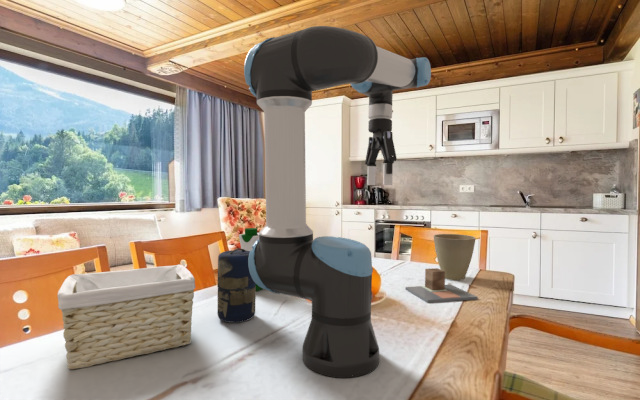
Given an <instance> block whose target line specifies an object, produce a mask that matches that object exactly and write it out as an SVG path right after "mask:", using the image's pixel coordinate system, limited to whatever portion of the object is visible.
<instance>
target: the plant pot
mask: <svg viewBox="0 0 640 400" xmlns="http://www.w3.org/2000/svg"><path fill="white" fill-rule="evenodd" d="M433 243H434V249H435V253H436V259H437V262H438V266H439V269H440V270H443V271H445V280H449V281H463V280H464V279H465V278H466V275H467V273H468V270H469V268H470V264H471V261H472V258H473V254H474V250H475V249H474V248H475V244H476V237H475V236H473V235H468V234H457V233H456V234H455V233H439V234H434V235H433Z"/></svg>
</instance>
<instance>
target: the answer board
mask: <svg viewBox="0 0 640 400" xmlns="http://www.w3.org/2000/svg"><path fill="white" fill-rule="evenodd" d="M405 290H406V291H407V292H409V293H411V294H412V295H414V296H416V297H417V298H418V299H420V300H422V301H424V302H425V303H427V304H431V303H442V302H443V303H444V302H458V301H460V302H461V301H474V300H478V296H477V295H475V294H472V293H471V292H468V291H466V290H463V288H459V287H457V286H455V285H453V284H445V290H430V289H429V288H427V287H425V285H419V286H417V285H416V286H405Z"/></svg>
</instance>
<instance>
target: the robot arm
mask: <svg viewBox="0 0 640 400" xmlns="http://www.w3.org/2000/svg"><path fill="white" fill-rule="evenodd" d="M243 67H244V68H243V75H244V80H245V84H246V85H247V86H249V87H248V90H249V92H250V93H251V94H252V95H253V96H254V98H256V105H257V106H258V107H259V108H260V109H261V110H262V111H263V113H264V114H263V117H264V119H263V121H264V165H265V166H264V169H265V170H264V171H265V176H264V177H265V178H264V181H265V223H266V224H265V225H264V227H262V228H261V230H259V232H258V233H259V239H258V240H257V241H256V242H255V243H254V244H253V246H252V248H253V249H252V250H251V251H250V253H249V258H248V267H249V272H250V275H251V277H252V279H253V281H254V282H255V283H256V284H257V285H258V286H259V287H261V288H263V289H262V290H266V291H268V292H271V293H272V294H279V295H285V296H290V297H295V298H299V299H304V300H309V301H311V319H310V323H309V326H308V329H307V331H306V334H305V337H304V341H303V343H302V348H301V350H302V353H301V355H302V357H301V358H302V359H301V360H302V362H303V364H304V365H305V367H307V368H308V369H309V370H311V371H313V372H315V373H317V374H320V375H322V376H327V377H333V378H355V377H360V376H364V375H367V374H369V373H371V372H373V371H374V370H376V368H377V367H378V365H379V363H380V348H379V344H378V341H377V337H376V334H375V330H374V327H373V324H372V288H373V287H372V283H373V281H372V280H373V271H374V270H373V269H374V268H373V262H372V261H373V260H372V251H371V250H370V248H369V247H368V246H367V245H366V244H365V243H362V242H360V241H357V240H354V239H351V238H345V237H341V236H340V237H339V236H332V235H331V236H329V235H327V236H325V235H324V236H317V237H315V238H314V230H313V229H311V228H310V226H309V225H308V224H307V204H306V203H307V202H306V200H307V199H306V198H307V194H306V193H307V192H306V191H307V189H306V184H307V183H306V182H307V181H306V111H307V110H308V109H309V108H310V107H311V106H312V105H313V95H312V94H313V92H316V91H321V90H326V89H331V88H334V87H339V86H342V85H347V84H348V85H349V84H350V85H351V88H352V89H353V90H356V92H357V93H359V94H362V95H364V96H367V97H368V116H367V117H368V127H367V128H368V129H367V130H368V132H369V133H372V136H369V137H368V144H367V145H368V146H367V150H366V156H365V160H364V165H366V167H367V178H366V179H367V182H366V183H367V184H366V185H367V186H376V178H377V176H376V175H377V173H376V171H377V159H378V156H379V153H380V152H381V154H382V158H383V162H382V163H383V173H382V174H383V175H382V176H383V177H382V178H383V179H382V185H383V186H393V174H394V173H393V172H394V170H393V167H394V166H393V165H394V164H395V162H396V161H397V159H398V158H397V154H396V148H395V143H394V136H393V120H392V119H393V113H394V110H393V91H399V90H407V89H408V90H409V89H415V88H416V89H418V88H420V87H425V86H428V84H430V81H431V79H432V68H431V63H430V60H429V59H428V57H416V58H413V59H411V58H407V57H405V56H402V55H400V54H398V53H395V52H392V51H390V50H387V49H384V48H382V47H379V46H377V45H376V43H375V42H374V41H373V40H372V38H370V37H368V36H367V35H365V34H362V33H360V32H358V31H355V30H350V29H346V28H342V27H337V26H331V25H328V26H327V25H314V26H310V27H305V28H303V29H300V30H297V31H293V32H290V33H287V34H283V35H280V36H276V37H274V36H273V37H269V38H267V39H264V40H263V41H262V42H259V43H256V44H255V45H254V46H253V47H252V48H250V49H249V51H248V53H247V54H246V57H245V59H244V66H243Z"/></svg>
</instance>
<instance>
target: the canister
mask: <svg viewBox="0 0 640 400" xmlns="http://www.w3.org/2000/svg"><path fill="white" fill-rule="evenodd" d="M249 253H250V251H246V250H244V249H241V247H238V248H235V249H232V250H225V251H222V252H220V253H219V254H218V257H217V317H218V318H219V320H220V321H223V322H226V323H240V322H246V321H249V320H251V319H252V318H254V316H255V315H256V300H257V299H256V295H257V291H256V283H255V282H254V281H253V279H252V277H251V275H250V272H249V267H248V258H249Z"/></svg>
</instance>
